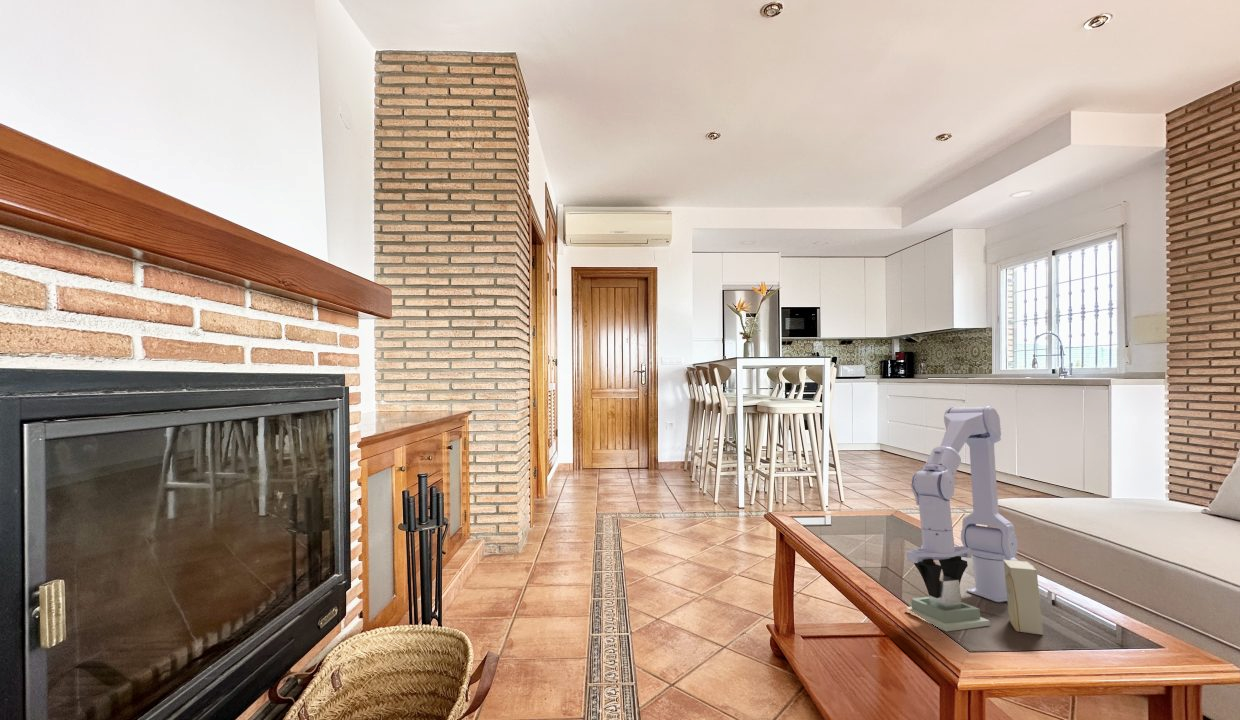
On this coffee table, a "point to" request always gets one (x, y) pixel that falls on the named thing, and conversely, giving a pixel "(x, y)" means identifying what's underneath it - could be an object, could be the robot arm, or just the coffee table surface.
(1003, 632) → the coffee table surface
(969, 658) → the coffee table surface
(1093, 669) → the coffee table surface
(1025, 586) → the skincare box
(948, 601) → the aluminium block
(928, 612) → the tray
